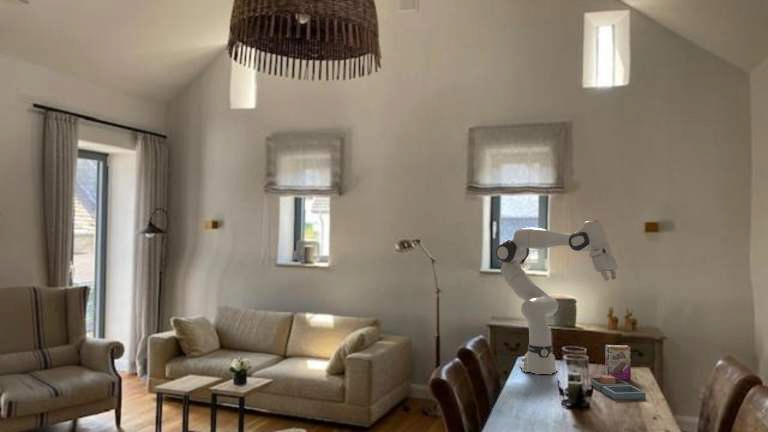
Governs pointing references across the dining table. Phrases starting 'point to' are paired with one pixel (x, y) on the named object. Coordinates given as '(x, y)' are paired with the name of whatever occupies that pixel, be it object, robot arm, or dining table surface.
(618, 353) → the candy bar box
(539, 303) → the robot arm
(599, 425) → the dining table surface
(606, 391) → the slate tray
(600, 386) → the charcoal bin
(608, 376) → the terracotta block
